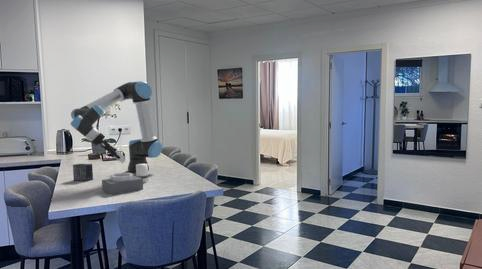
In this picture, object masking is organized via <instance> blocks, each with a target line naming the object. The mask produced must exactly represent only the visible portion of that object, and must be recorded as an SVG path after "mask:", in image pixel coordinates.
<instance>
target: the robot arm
mask: <svg viewBox="0 0 482 269" xmlns="http://www.w3.org/2000/svg"><path fill="white" fill-rule="evenodd" d="M152 94H153V89H152V87H151V84H149V83H148V82H147V81H141V80H139V81H130V82H126V83H123V84H122V85H120V86H118V87H116V88H114V89H113V91H111V92H109V93H107V94H105V95H103V96H101V97H100V98H97V99H95V100H94V101H92V102H90V103H87V104H86V105H84V106H81V107H80V108H74V109H72V111H71V112H70V116H71V119H72V120H71V122H70V125H71V127H73V129H74V130H76V131H77V132H79V133H80V134H81V135H82V136H83V137H85V140H88V141H89V142H91V143H92V144H93V145H94V146H98V145H100V146H101V148H102V149H104V150H105V151H106V152H108V153H109V154H110V155H111V157H112V158H115V159H116V160H117V161H118V162H120V163H121V164H123V163H124V162H126V159H125V156H124V155H123V154H122V153H120V152H119V151H118V149H117V148H115V147H114V146H112V145H111V143H109V142H108V141H106V140H104V139H105V138H106V136H105V135H104V134H103V133H101V132H100V131H99V130H98V129H97V128H96V127H95V126H94V124H95V123H96V122H97V121H98V120H99V119H100V118H101V117H102V116H103V115H104V114H105V113H104V110H105V109H107V108H109V107H111V106H113V105H115V104H117V103H120V102H121V103H122V102H123V101H126V100H132V103H133V104H134V105H135V108H136V113H137V119H138V122H139V128H140V134H141V138H138V139H132V140H129V142H128V154H129V156H128V157H129V162H128V166H127V173H136V165H137V164H148V171H149V170H150V166H149V163H148V161H147V158H150V159H152V158H158V157H159V156H161V153H162V152H163V144H162V143H161V142H160V141H159V140H158V137H157V136H156V135H155V131H154V127H153V120H152V116H151V115H152V114H151V109H150V105H149V102H150V101H151V96H152Z"/></svg>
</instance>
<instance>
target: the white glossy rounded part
mask: <svg viewBox="0 0 482 269" xmlns="http://www.w3.org/2000/svg"><path fill="white" fill-rule="evenodd" d="M148 166H149V163H148V164H137V165H136V172H135V173H136V175H135V176H136V177H139V178H142V179H143V184H146V183H148V182H149V170H148Z"/></svg>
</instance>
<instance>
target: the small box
mask: <svg viewBox="0 0 482 269" xmlns="http://www.w3.org/2000/svg"><path fill="white" fill-rule="evenodd" d="M93 171H94V170H93V164H92V163H76V164H72V173H73V181H74V182H88V181H92V180H94V173H93Z"/></svg>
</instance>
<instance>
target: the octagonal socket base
mask: <svg viewBox="0 0 482 269" xmlns="http://www.w3.org/2000/svg"><path fill="white" fill-rule="evenodd" d="M101 185H102V186H101V187H102V188H101V189H102V191H103V192H105V193H107V194H109V195H112V196H113V195H118V194H123V193H128V192H133V191H139V190H144V183H143V179H142V178H139V177H136V175H134V173H132V172H120V173H114V174H112V175H111V176H110V178H105V179H101Z"/></svg>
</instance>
